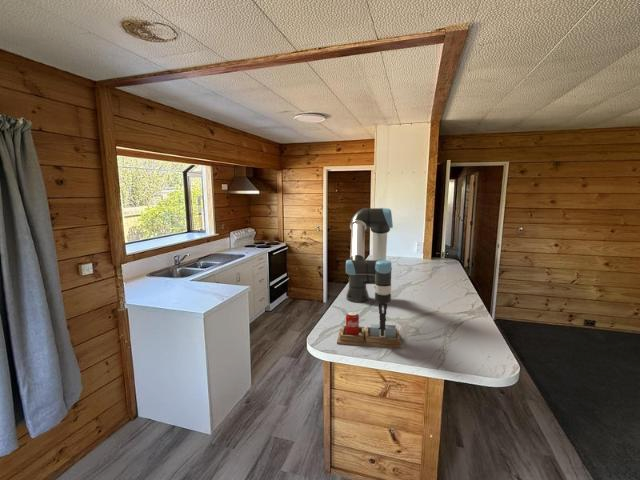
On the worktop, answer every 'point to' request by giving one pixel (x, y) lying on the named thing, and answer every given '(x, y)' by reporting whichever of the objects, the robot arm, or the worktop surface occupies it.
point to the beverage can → (352, 323)
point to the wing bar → (389, 331)
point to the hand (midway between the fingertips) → (382, 337)
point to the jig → (368, 339)
